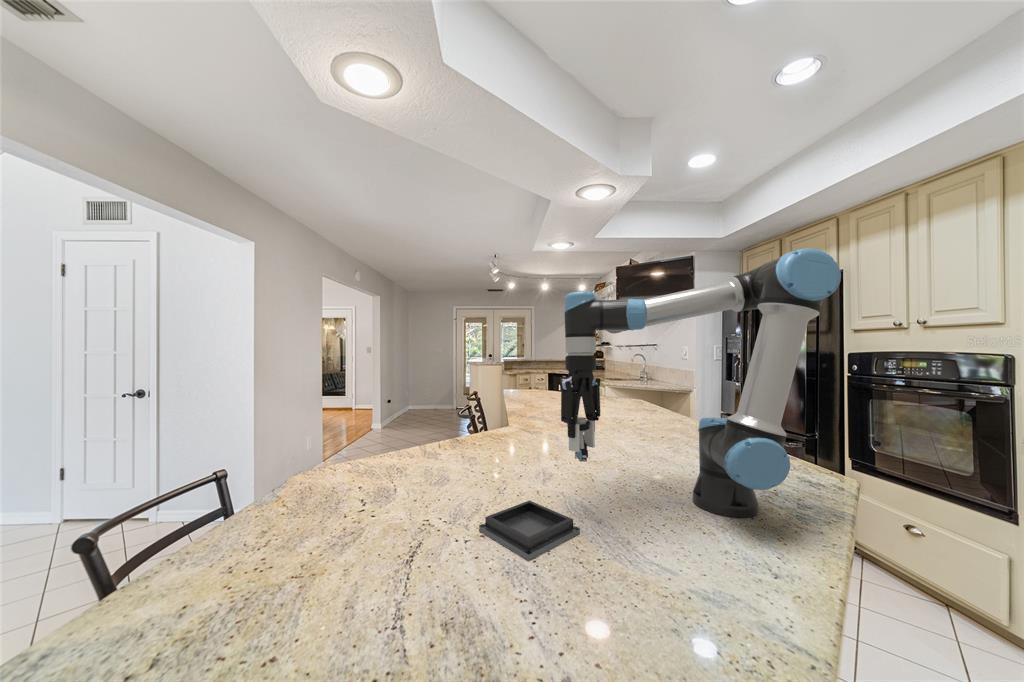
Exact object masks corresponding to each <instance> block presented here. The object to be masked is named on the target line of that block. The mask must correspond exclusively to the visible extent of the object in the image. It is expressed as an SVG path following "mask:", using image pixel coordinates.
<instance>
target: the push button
mask: <svg viewBox="0 0 1024 682" xmlns="http://www.w3.org/2000/svg"><path fill="white" fill-rule="evenodd" d="M572 419H573V418H572ZM586 420H587V419H586V417H582V416H578V418H577V424H579V440H580V452H575V451H574V458H575V460H578V461H579V462H580V463H581V462H584V463H585V462H586V463H587V462H588V458H589V450H588V446H587V444H586V443H585V440H584V432H585V431H587V430H588V429H589V425H590V422H589V421H586Z"/></svg>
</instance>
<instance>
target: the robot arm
mask: <svg viewBox="0 0 1024 682" xmlns="http://www.w3.org/2000/svg"><path fill="white" fill-rule="evenodd" d="M841 279H842V272H841V269H840V266H839V264H838V262H837V261H835V260H834V258H833V256H831V255H830V254H829V253H827V252H825V251H823V250H821V249H817V248H813V247H812V248H809V247H805V248H800V249H797V250H791V251H788V252H786V253H784V254H782V256H780V257H778V258H776V259H773V260H771V261H768V262H766V263H764V264H762V265H759V266H758V267H756V268H753V269H751V270H749V271H747V272H743V273H741V274H738V275H732V276H729V277H728V278H727V279H726V281H722V282H717V283H713V284H709V285H706V286H705V285H703V286H700V287H695V288H691V289H687V290H680V291H677V292H673V293H669V294H667V293H666V294H662V295H659V296H654V297H650V298H645V299H641V298H639V299H638V298H635V299H634V298H627V299H626V298H625V299H606V300H605V299H604V300H603V299H596V295H595V293H594V292H592V291H573V292H570V293H568V294H566V296H565V297H564V337H565V338H564V339H565V354H567V355H566V356H565V370H566V371H568V375H567V378H566V379H564V380H560V381H559V388H560V391H561V394H560V400H561V401H560V402H561V403H560V405H561V406H560V421H561V422H563V423H564V424H567V438H568V450H569V451H571V452H574V453H575V452H580V440H579V424H577V418H578V417H579V411H580V405H581V399H582V404H583V409H584V415H585V418H586V421H589V422H590V425H589V429H588V430H587V431H585V432H583V434H584V440H585V443H586V444H587V448H592V449H593V448H595V447H596V446H595V442H596V441H595V436H596V435H595V434H596V433H595V432H596V422H598V421H599V420H600V417H601V392H600V387H601V378H598V377H594V373H593V372H594V371H596V370H597V357H596V355H594V354H596V353H597V338H596V331H607V332H608V333H610V334H619V333H622V332H627V331H635V330H643V329H645V327H650V326H655V325H661V324H665V323H666V324H667V323H670V322H675V321H681V320H684V319H685V320H686V319H690V318H696V317H700V316H704V315H710V314H715V313H720V312H726V311H730V310H732V311H734V312H736V313H739V312H744V311H750V310H759V312H760V313H761V314H762V316H761V319H760V324H759V328H758V331H757V335H756V340H755V343H754V347H753V350H752V353H751V358H750V362H749V365H748V369H747V373H746V377H745V381H744V384H743V389H742V392H741V397H740V400H739V404H738V407H737V411H736V412H735V413H734V414H731V415H730V416H727V417H703V418H701V419H700V420H699V423H698V429H697V431H698V445H699V446H698V450H699V452H698V453H699V457H698V458H699V459H698V460H699V472H698V476H697V478H696V480H695V481H696V482H695V485H694V487H693V490H692V501H693V503H694V504H695V505H696V506H697V507H699V508H701V509H702V510H704V511H707V512H709V513H713V514H715V515H721V516H725V517H729V518H730V517H731V518H751V517H755V516H757V515H758V514H759V513H760V511H759V509H760V508H759V501H758V500H759V499H758V497H757V495H756V492H755V490H756V491H765V490H771V489H772V488H775V487H778V486H779V485H780V484H782V483H783V482H784V481H785V480H786V478H787V477H788V475H789V473H790V470H791V460H790V457H789V455H788V454H787V453H788V452H787V451H786V450H785V443H786V439H787V436H788V435H787V432H786V431H785V429H784V428H783V427H782V421H783V417H784V413H785V409H786V406H787V402H788V400H789V399H788V398H789V395H790V390H791V388H792V384H793V380H794V376H795V372H796V368H797V365H798V361H799V358H800V354H801V350H802V346H803V341H804V338H805V334H806V331H807V328H808V324H809V322H810V320H814V319H815V318H816V317H818V316H819V315H820V313H821V309H822V306H823V302H824V299H826V298H828V297H830V296H831V295H832V294H833V293H835V292H836V290H837V289H838V288H839V286H840V283H841ZM572 418H573V419H572Z"/></svg>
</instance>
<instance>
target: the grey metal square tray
mask: <svg viewBox="0 0 1024 682" xmlns="http://www.w3.org/2000/svg"><path fill="white" fill-rule="evenodd" d="M484 519H485V520H484V521H485V522H484V523H481V524H479V525H478V526H479V527H478V530H479V532H480V533H481V534H483V535H485V536H487V537H488V538H490V539H491V540H493V541H495V542H496V543H498V544H500V545H501V546H504V547H505V548H507V549H508V550H509V551H511V552H512V553H515V554H516V555H517V556H519V557H521V558H523V559H524V560H526V561H527V562H530V561H531V560H533V559H535V558H537V557H539V556H541V555H543V554H545V553H547V552H548V551H550V550H553V549H554V548H556V547H558V546H560V545H561V544H564V543H565V542H567V541H569V540H571V539H573V538H575V537H577V536H578V535H580V531H581V530H580V529H581V528H580V527H578V526H575V525H574V518H572V517H569V516H567V515H564V514H562V513H559V512H557V511H555V510H553V509H550V508H548V507H545V506H543V505H541V504H539V503H536V502H533V501H532V500H527V501H524V502H522V503H519V504H516V505H514V506H511V507H509V508H506V509H503V510H500V511H498V512H495V513H492V514H489V515H487V516H485V518H484Z"/></svg>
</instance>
